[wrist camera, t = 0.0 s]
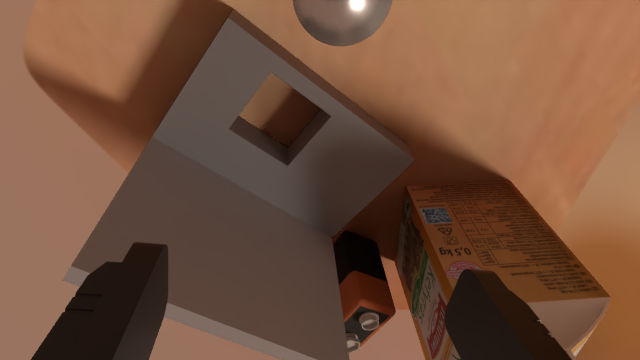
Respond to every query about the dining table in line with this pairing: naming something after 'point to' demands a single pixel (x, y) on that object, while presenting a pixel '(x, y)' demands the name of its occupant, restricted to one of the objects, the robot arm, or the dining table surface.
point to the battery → (361, 288)
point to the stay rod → (341, 19)
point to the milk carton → (490, 261)
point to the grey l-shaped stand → (250, 202)
